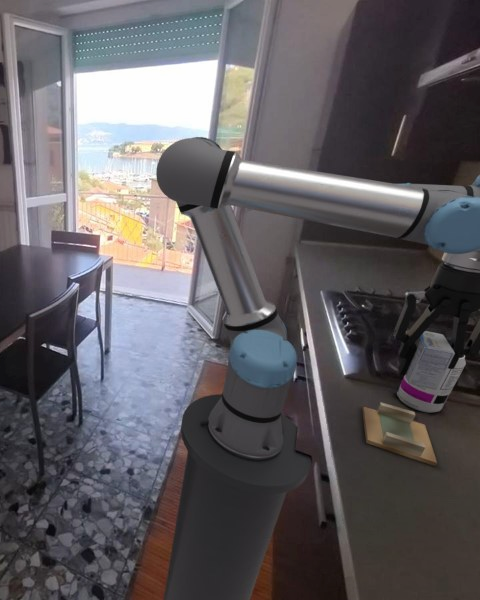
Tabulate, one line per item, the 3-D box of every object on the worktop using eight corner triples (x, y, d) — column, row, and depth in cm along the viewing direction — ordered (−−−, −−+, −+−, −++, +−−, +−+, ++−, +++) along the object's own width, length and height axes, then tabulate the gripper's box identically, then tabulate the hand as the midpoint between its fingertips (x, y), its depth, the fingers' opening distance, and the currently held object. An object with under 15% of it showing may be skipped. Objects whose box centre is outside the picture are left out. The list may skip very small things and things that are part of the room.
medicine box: (436, 391, 68) (457, 353, 64) (406, 383, 70) (424, 346, 66) (426, 369, 74) (444, 334, 70) (399, 363, 76) (415, 328, 72)
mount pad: (366, 443, 75) (371, 430, 74) (362, 409, 84) (367, 398, 83) (435, 466, 70) (442, 453, 68) (423, 427, 79) (429, 415, 77)
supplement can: (405, 410, 84) (430, 357, 78) (390, 388, 91) (412, 338, 85) (447, 417, 82) (478, 363, 75) (429, 395, 89) (455, 344, 82)
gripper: (408, 264, 64) (366, 371, 73) (554, 282, 55) (484, 401, 65) (401, 253, 69) (362, 354, 79) (532, 268, 61) (471, 379, 71)
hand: (417, 375), depth 72 cm, fingers closed on medicine box, 4 cm apart
